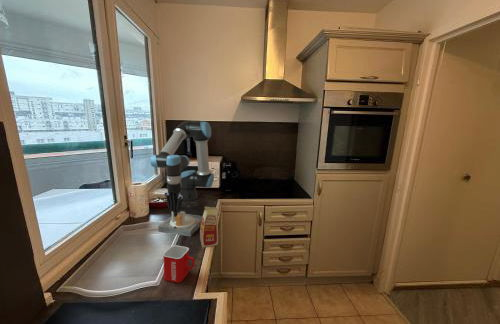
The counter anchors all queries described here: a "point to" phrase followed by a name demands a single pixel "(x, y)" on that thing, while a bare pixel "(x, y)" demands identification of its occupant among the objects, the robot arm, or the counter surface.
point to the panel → (189, 231)
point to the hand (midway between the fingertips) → (174, 221)
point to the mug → (176, 263)
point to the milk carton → (209, 227)
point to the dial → (183, 221)
